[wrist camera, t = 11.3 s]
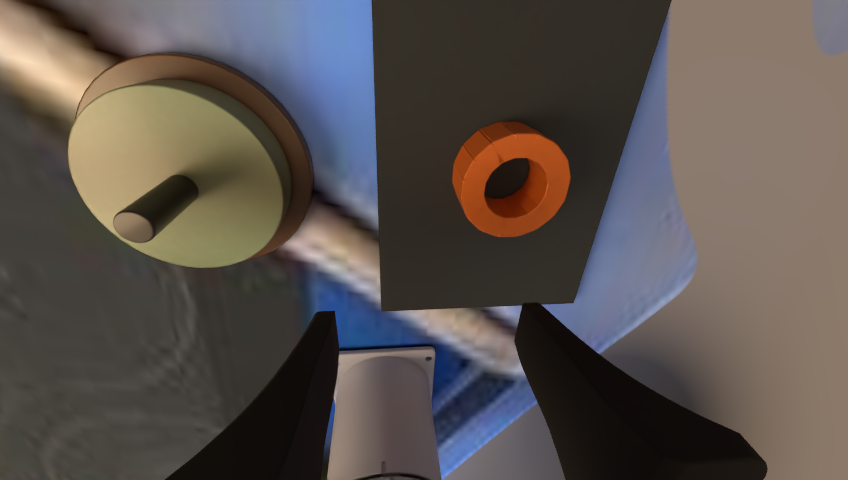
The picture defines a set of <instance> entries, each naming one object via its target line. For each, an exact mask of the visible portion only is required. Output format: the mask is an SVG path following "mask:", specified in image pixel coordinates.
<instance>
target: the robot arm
mask: <svg viewBox="0 0 848 480" xmlns="http://www.w3.org/2000/svg"><path fill="white" fill-rule="evenodd" d="M514 342H515V345H516V349H517V352H518V356H519V359H520V362H521V365H522V368H523V370H524V372H525V375H526V377H527V379H528V382H529V384H530V386H531V388H532V391H533V393H534V395H535V397H536V400H537V402H538V404H539V406H540V408H541V411H542V413H543V415H544V417H545V420H546V422H547V425H548V427H549V430H550V433H551V436H552V439H553V442H554V445H555V448H556V451H557V453H558V457H559V460H560V463H561V466H562V469H563V473H564V476H565V479H566V480H763V479H764V478H765V476H766V473H767V465H766V462H765V461H764V460H763V459H762V458H761V457H760V456H759V454H758V453H757V452H756V451H755V450H754V449H753V448H752V447H751V446H750V444H748V442H747V441H746V440H745V439H744V438H743V437H742V436H741V434H740V433H737V432H735V431H733V430H731V429H729V428H727V427H724V426H722V425H720V424H718V423H715V422H713V421H711V420H709V419H707V418H704V417H702V416H700V415H698V414H696V413H694V412H692V411H690V410H688V409H686V408H684V407H682V406H680V405H678V404H676V403H675V402H673V401H671V400H669V399H667V398H665V397H664V396H662V395H660V394H658V393H656V392H655V391H653V390H651V389H649V388H648V387H646V386H645V385H643V384H641V383H640V382H638V381H637V380H635V379H634V378H632V377H630V376H629V375H627V374H626V373H624V372H623V371H622V370H620V369H618V368H617V367H616V366H614V365H613V364H611V363H610V362H609V361H607V360H606V359H604V358H603V357H602V356H601V355H599V354H598V353H597V352H596V351H594V350H593V349H592V348H590V347H589V346H588V345H587V344H585V343H584V342H583V341H582V340H581V339H579V338H578V337H577V336H576V335H575V334H573V333H572V332H571V331H570V330H569V329H568V328H567V327H565V326H564V325H563V324H562V323H561V322H560V321H559V320H558V319H556V318H555V317H554V316H553V315H552V314H551V313H550V312H549V311H547V310H546V309H545V308H544V307H543V306H542V305H541V304H539V303H538V302H534V303H523V305H522V310H521V314H520V318H519V323H518V327H517V331H516V336H515V340H514ZM434 364H435V349H434V348H433V347H431V346H425V347H406V348H388V349H370V350H352V351H339V343H338V335H337V326H336V318H335V311H322V312H317V313H316V314H315V315H314V317H313V319H312V321H311V322H310V324H309V326H308V328H307V329H306V331H305V333H304V334H303V336H302V337H301V339H300V341H299V342H298V344H297V345H296V346H295V348H294V349H293V351H292V352H291V354H290V355H289V357H288V358H287V360H286V361H285V362H284V364H283V365H282V366H281V367H280V369H279V370H278V371H277V373H276V374H275V375H274V377H273V378H272V379H271V380H270V382H269V383H268V384H267V385H266V386H265V388H264V389H263V390H262V391H261V392H260V393H259V394H258V396H257V397H256V398H255V399H254V400H253V401H252V402H251V403H250V404H249V405H248V406H247V407H246V408H245V410H244V411H243V412H242V413H241V414H240V415H239V416H238V417H237V418H236V419H235V420H234V421H233V422H232V423H231V424H230V425H229V426H228V427H227V428H226V429H224V430H223V431H222V432H221V433H220V434H219V435H218V436H217V437H216V438H214V439H213V440H212V441H211V442H210V443H209V444H208V445H207V446H206V447H204V448H203V449H202V450H201V451H200V452H199V453H198V454H196V455H195V456H194V457H193V458H192V459H190V460H189V461H188V462H187V463H185V464H184V465H183V466H182V467H180V468H179V469H178V470H177V471H175V472H174V473H173V474H171V475H170V476H169V477H168V478H166V479H165V480H321V471H322V461H323V452H324V445H325V438H326V433H327V427H328V422H329V417H330V412H331V407H332V402H333V397H334V401H335V416H334V425H333V433H332V441H331V450H330V458H329V466H328V475H327V480H441V473H440V466H439V458H438V451H437V444H436V436H435V429H434V422H433V414H432V407H431V404H432V390H433V377H434Z"/></svg>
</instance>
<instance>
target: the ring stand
mask: <svg viewBox="0 0 848 480" xmlns="http://www.w3.org/2000/svg"><path fill="white" fill-rule="evenodd" d="M67 153H68V164H69V168H70V172H71V176H72V179H73V181H74V184H75V186H76V188H77V191H78V192H79V194H80V196H81V198H82V199H83V201H84V203H85V204H86V205H87V207H88V208H89V209H90V211H91V212H92V213H93V214H94V216H95V217H96V218H97V219H98V220H99V221H100V222H101V223H102V224H103V225H104V226H105V227H106V228H107V229H108V230H109V231H111V232H112V233H113V234H114V235H116V236H117V237H118V238H120V239H121V240H122V241H124V242H125V243H127V244H129V245H130V246H132V247H133V248H135V249H137V250H139V251H141V252H143V253H145V254H147V255H149V256H152V257H154V258H157V259H159V260H162V261H166V262H169V263H172V264H177V265H182V266H188V267H197V268H211V267H221V266H227V265H231V264H235V263H238V262H241V261H244V260H249V259H253V258H256V257H259V256H262V255H265V254H267V253H269V252H271V251H273V250H275V249H276V248H278V247H279V246H281V245H283V244H284V243H285V242H286V241H287V240H288V239H290V238H291V237H292V235H293V234H294V233H295V232H296V231H297V230H298V228H299V227H300V225H301V223H302V222H303V220H304V218H305V215H306V213H307V211H308V208H309V206H310V202H311V198H312V194H313V183H314V180H313V167H312V162H311V157H310V154H309V151H308V148H307V145H306V143H305V140H304V138H303V136H302V134H301V132H300V130H299V129H298V127H297V125H296V124H295V122H294V121H293V119H292V117H291V116H290V115H289V114H288V113H287V111H286V110H285V109H284V108H283V106H282V105H281V104H280V103H279V102H278V101H277V100H276V99H275V98H274V97H273V96H272V95H271V94H270V93H269V92H268V91H266V90H265V89H264V88H263V87H261V86H260V85H259V84H258V83H256V82H255V81H253V80H252V79H250V78H249V77H247V76H246V75H244V74H242V73H241V72H239V71H237V70H235V69H233V68H231V67H229V66H227V65H225V64H222V63H219V62H216V61H213V60H211V59H208V58H204V57H199V56H195V55H191V54H181V53H156V54H147V55H142V56H137V57H132V58H129V59H126V60H124V61H121V62H118V63H116V64H115V65H113V66H111V67H109V68H108V69H106V70H104V71H103V72H102V73H101V74H100V75H99V76H98V77H96V78H95V79H94V80H93V81H92V83H91V84H90V85H89V87H88V88H87V89H86V91H85V92H84V94H83V96H82V98H81V100H80V102H79V105H78V109H77V112H76V116H75V122H74V124H73V126H72V128H71V132H70V135H69V139H68V151H67Z"/></svg>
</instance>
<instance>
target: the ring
mask: <svg viewBox="0 0 848 480" xmlns="http://www.w3.org/2000/svg"><path fill="white" fill-rule="evenodd" d="M514 158H528V162H529V166H530V169H529V174H528V178H527V179H526V181H525V183H524V184H523V186H522V187H521V188H520V189H519V190H518V191H517V192H515V193H514V194H513V195H511V196H508V197H505V198H503V199H492V198H489V197H487V196H484V193H485V185H486V182H487V180H488V178H489V177H490V175H491V173H492V172H493V171H494V170H495V169H496V168H497V167H498V166H500V165H501V164H502V163H504V162H506V161H509V160H511V159H514ZM570 179H571V176H570V170H569V163H568V159H567V157H566V156H565V154H564V153H563V151H562V150H561V149H560V147H559V146H558V145H557V143H555V142H554V141H553V140H551V139H549V138H548V137H546V136H545V135H543V134H542V133H540V132H538V131H537V130H535V129H533V128H531V127H529V126H527V125H525V124H523V123H521V122H520V123H519V122H502V121H501V122H496V123H494V124H491V125H489V126H486V127H484V128H481V129H480V130H478V131H477V132H476V133H475V134H474V135H472V136H471V137H470V138H469V139H468V140H467V141H466V142H465V143H464V145H463V146H462V147H461V149H460V151H459V153H458V155H457V157H456V159H455V161H454V165H453V177H452V183H453V186H454V189H455V192H456V195H457V197H458V200H459V202H460V204H461V206H462V208H463V210H464V213H465V215H466V217H467V218H468V220H469V221H470V222H471V223H472V224H473V225H474V226H475V227H476V228H478V229H479V230H481V231H482V232H485V233H488V234H491V235H493V236H496V237H497V236H498V237H516V236H521V235H524V234H526V233H529V232H532V231H534V230H536V229H538V228H540V227H541V226H542V225H543V224H545V223H546V222H547V221H549V220H550V219H551V218H552V217H553V216H555V214H556V213H557V211H558V210H559V208H560V207H561V205H562V204H563V202H564V201H565V198H566V195H567V191H568V187H569V184H570Z"/></svg>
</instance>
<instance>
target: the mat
mask: <svg viewBox="0 0 848 480" xmlns="http://www.w3.org/2000/svg"><path fill="white" fill-rule="evenodd" d="M670 3H671V0H372V21H373V53H374V85H375V118H376V150H377V183H378V215H379V248H380V280H381V311H401V310H424V309H447V308H471V307H494V306H517V305H523V303H534V302H538V303H539V304H563V303H574V300H575V297H576V294H577V291H578V288H579V284H580V281H581V278H582V275H583V272H584V269H585V266H586V263H587V260H588V257H589V254H590V250H591V247H592V244H593V241H594V238H595V235H596V232H597V229H598V226H599V223H600V220H601V216H602V213H603V210H604V207H605V204H606V201H607V198H608V195H609V192H610V189H611V186H612V183H613V179H614V176H615V173H616V170H617V167H618V164H619V161H620V158H621V155H622V152H623V149H624V145H625V142H626V139H627V136H628V133H629V130H630V127H631V124H632V121H633V118H634V115H635V111H636V108H637V105H638V102H639V99H640V96H641V93H642V90H643V87H644V84H645V81H646V78H647V74H648V71H649V68H650V65H651V62H652V59H653V56H654V53H655V50H656V47H657V44H658V40H659V37H660V34H661V31H662V28H663V25H664V22H665V19H666V16H667V13H668V10H669V6H670ZM501 121H502V122H519V123H520V122H521V123H523V124H525V125H527V126H529V127H531V128H533V129H535V130H537V131H538V132H540V133H542V134H543V135H545V136H546V137H548V138H549V139H551V140H553V141H554V142H555V143H557V145H558V146H559V147H560V149H561V150H562V151H563V153H564V154H565V156H566V157H567V159H568V163H569V170H570V176H571V179H570V184H569V187H568V191H567V195H566V198H565V201H564V202H563V204H562V205H561V207H560V208H559V210H558V211H557V213H556V214H555V216H553V217H552V218H551V219H550V220H549V221H547V222H546V223H545V224H543V225H542V226H541V227H540V228H538V229H536V230H534V231H532V232H529V233H526V234H524V235H521V236H516V237H498V236H497V237H496V236H493V235H491V234H488V233H485V232H482V231H481V230H479V229H478V228H476V227H475V226H474V225H473V224H472V223H471V222H470V221H469V220H468V218H467V217H466V215H465V213H464V210H463V208H462V206H461V204H460V202H459V200H458V197H457V195H456V192H455V189H454V186H453V183H452V177H453V165H454V161H455V159H456V157H457V155H458V153H459V151H460V149H461V147H462V146H463V145H464V143H465V142H466V141H467V140H468V139H469V138H470V137H471V136H472V135H474V134H475V133H476V132H477V131H478V130H480V129H481V128H484V127H486V126H489V125H491V124H494V123H496V122H501ZM529 169H530V166H529V162H528V158H514V159H511V160H509V161H506V162H504V163H502V164H501V165H500V166H498V167H497V168H496V169H495V170H494V171H493V172H492V173H491V175H490V177H489V178H488V180H487V182H486V185H485V193H484V196H487V197H489V198H492V199H503V198H505V197H508V196H511V195H513V194H514V193H515V192H517V191H518V190H519V189H520V188H521V187H522V186H523V184H524V183H525V181H526V179H527V178H528V174H529Z"/></svg>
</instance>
